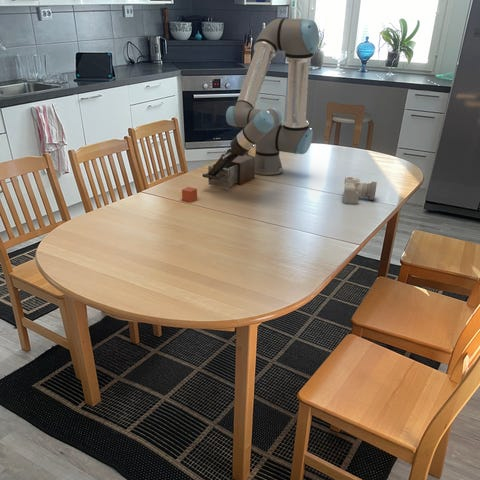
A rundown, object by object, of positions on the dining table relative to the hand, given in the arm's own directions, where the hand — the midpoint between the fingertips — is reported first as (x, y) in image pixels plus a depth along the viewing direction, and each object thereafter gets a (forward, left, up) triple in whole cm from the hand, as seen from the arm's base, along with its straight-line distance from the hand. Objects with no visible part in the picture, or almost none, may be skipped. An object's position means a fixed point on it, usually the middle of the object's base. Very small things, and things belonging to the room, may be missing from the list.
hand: (209, 177), depth 213 cm
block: (+10, -12, -6) cm, 16 cm away
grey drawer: (-3, +7, -5) cm, 9 cm away
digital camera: (+32, +56, -6) cm, 65 cm away
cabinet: (-10, +17, -6) cm, 21 cm away
